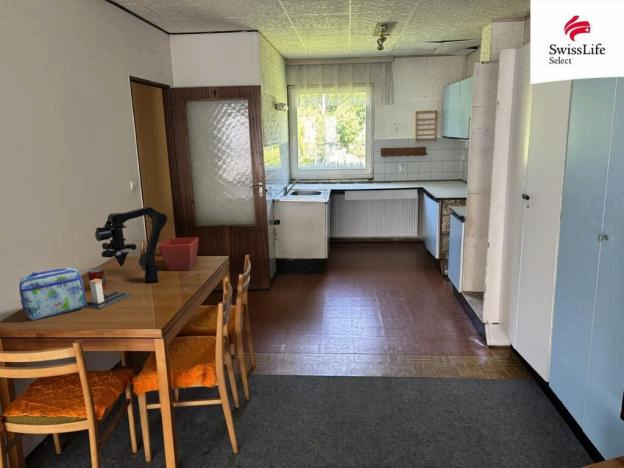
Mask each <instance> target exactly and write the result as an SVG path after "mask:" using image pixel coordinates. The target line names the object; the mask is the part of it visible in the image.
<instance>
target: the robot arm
mask: <svg viewBox="0 0 624 468" xmlns="http://www.w3.org/2000/svg"><path fill="white" fill-rule="evenodd" d="M107 216H108V217H107V220H106V222H105V224H104V226H101V227H96V228H95V232H94V233H95V234H94V236H95V239H96V241H97V242H102V241H106V240H107V241H108V240H109V243H107V242H103V243H102V244H101V247H102V250H104V251H102V252H101V258H113V257H114V258H115V260H116V261H117V262H118V264H119V267H123V266H124V264H125V261H126V259H127V256H128V254H130V252H129V251H128V250H132V251H134V250H137V249H138V248H137V244H135V243H125V241H126V240H127V239H126V238H124V237H125V236H124V229H125V228H127V225H126V224H124V223H126V222H128V221H129V220H133V219H137V218H140V217H143V216H148V217H149V219H151V226H152V227H151V231H150V235H149V238H148V241H147V246H146V249H145V252H144V253H143V254H140V255H139V260H138V265H139V268H141V269H142V270H143V271H144V273H143V274H144V282H145V284H152V283H153V284H154V283H158V282H159V276H158V272H159V271H160V266H158V265H157V264H156V258H155V253H156V250H157V246H158V243H159V239H160V236H161V232H162V229H163V228H164V227H165V226H166V223H167V222H168V216H167V215H166V214H165V213H162V212H160V211H158V210H156V209H154V208H153V207H150V206H143V207H139V208H137V209H133V210H129V211H126V212H112V213H109V214H108V215H107Z"/></svg>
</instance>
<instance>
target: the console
mask: <svg viewBox="0 0 624 468" xmlns="http://www.w3.org/2000/svg"><path fill="white" fill-rule="evenodd" d="M132 294H133V293H132V292H122V291H118V290H117V291H112V292H109V293H106V294H103V296H104V301H103V302H101V303H96V302H93V299H91V300H89V301H86V303H85V306H84V307H83V308H91V309H95V310H96V309H97V310H102V309H105V308H106V307H109V306H111V305H113V304H115V303H118V302H120V301H123V300H125V299H126V298H129V297H131V296H133V295H132Z"/></svg>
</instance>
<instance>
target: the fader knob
mask: <svg viewBox="0 0 624 468" xmlns="http://www.w3.org/2000/svg"><path fill="white" fill-rule="evenodd" d="M101 282H102V279H94V280H91V281H89V280H88V283H89V286H90V285H91V289H90V291H91V297H92V300H93V302H96V303H101V302H103V301H104V289H103V290H102V283H101Z"/></svg>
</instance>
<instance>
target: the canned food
mask: <svg viewBox="0 0 624 468" xmlns="http://www.w3.org/2000/svg"><path fill="white" fill-rule="evenodd" d="M87 275H88V282H89V281H91V280H94V279H102V282H101V283H102V290H103V291H104V290H105V289H106V288H107V285H106V278H105V271H104V267H100V266H99V267H98V266H97V267H96V266H95V267H91V268H88V269H87ZM89 287H90V290H91V285H90V284H89Z"/></svg>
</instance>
